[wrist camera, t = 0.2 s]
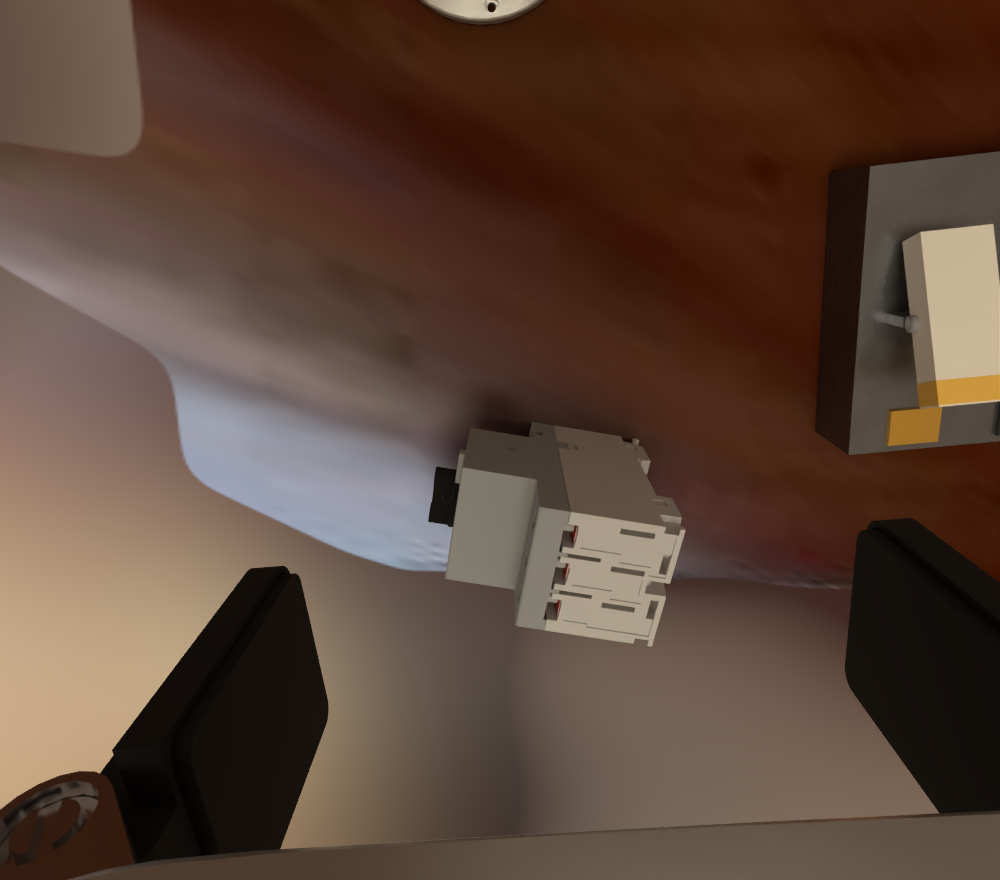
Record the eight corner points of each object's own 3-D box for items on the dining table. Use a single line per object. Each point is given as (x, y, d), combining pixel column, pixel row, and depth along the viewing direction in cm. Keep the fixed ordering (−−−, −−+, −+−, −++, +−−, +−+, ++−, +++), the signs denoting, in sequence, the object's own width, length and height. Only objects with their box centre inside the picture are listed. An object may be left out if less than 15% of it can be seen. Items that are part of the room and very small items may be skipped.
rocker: (896, 243, 38) (915, 232, 36) (975, 234, 38) (999, 223, 36) (913, 409, 38) (933, 407, 36) (993, 401, 38) (1018, 399, 36)
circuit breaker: (451, 408, 48) (425, 488, 34) (638, 439, 48) (690, 531, 34) (437, 499, 50) (408, 609, 36) (616, 527, 51) (656, 646, 37)
